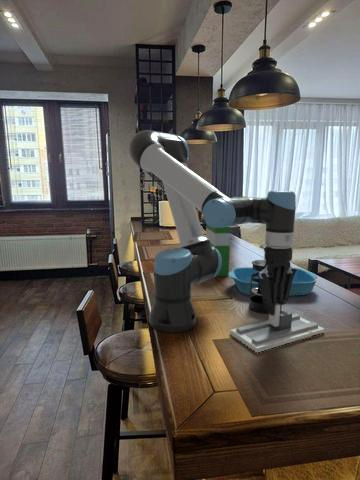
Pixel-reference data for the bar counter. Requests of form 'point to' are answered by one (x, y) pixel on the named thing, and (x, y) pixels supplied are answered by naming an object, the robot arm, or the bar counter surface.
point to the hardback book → (220, 245)
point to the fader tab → (283, 321)
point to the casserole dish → (242, 278)
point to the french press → (257, 300)
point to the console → (274, 333)
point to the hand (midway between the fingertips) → (273, 324)
